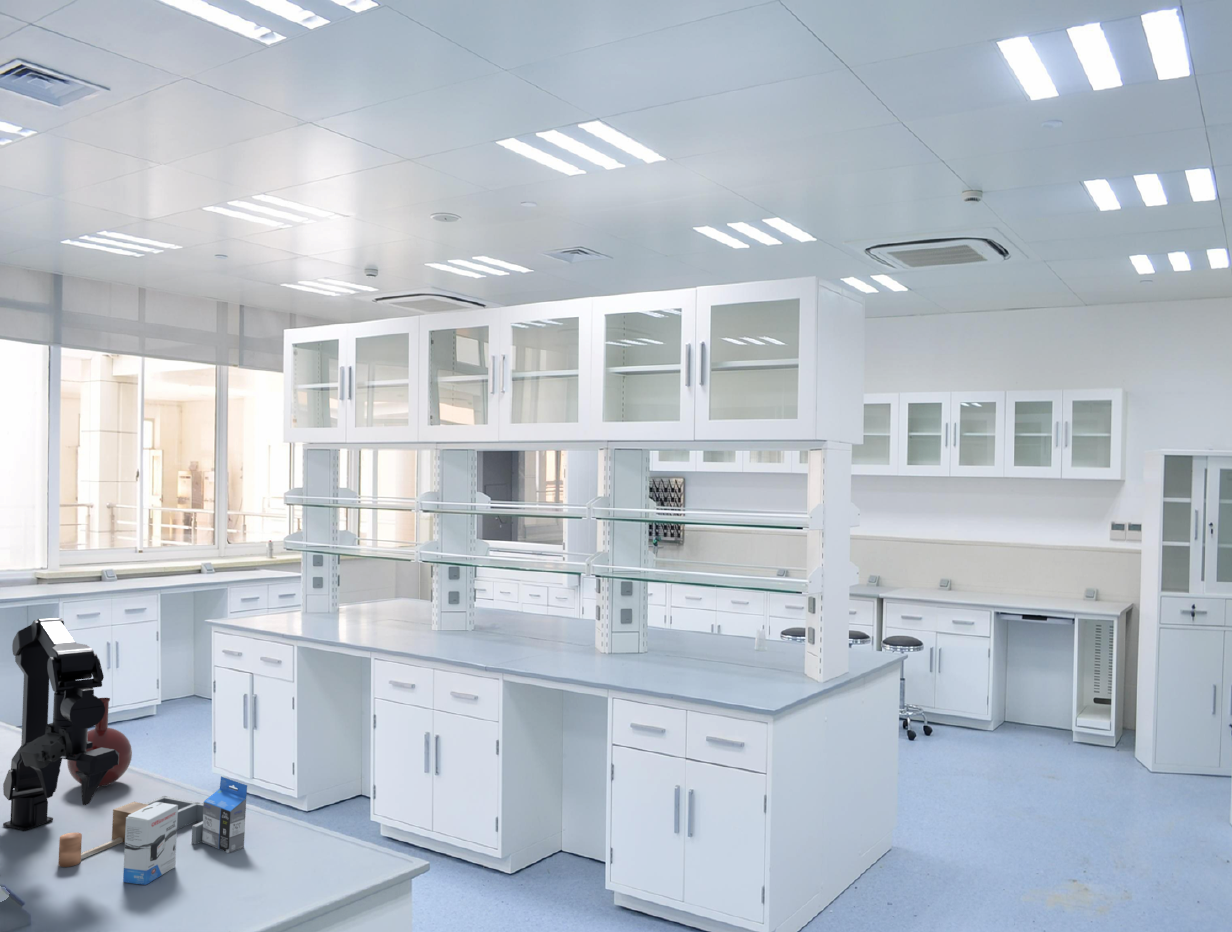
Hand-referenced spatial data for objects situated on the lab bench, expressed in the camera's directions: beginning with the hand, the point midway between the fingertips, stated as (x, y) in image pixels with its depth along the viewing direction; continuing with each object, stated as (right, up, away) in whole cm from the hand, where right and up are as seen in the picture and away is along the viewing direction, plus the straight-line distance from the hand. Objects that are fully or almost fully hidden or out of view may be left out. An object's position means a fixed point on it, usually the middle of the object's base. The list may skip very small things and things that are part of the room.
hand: (67, 800), depth 174 cm
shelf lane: (+11, -13, +20) cm, 26 cm away
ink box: (+17, -13, -3) cm, 21 cm away
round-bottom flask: (-18, -12, +43) cm, 48 cm away
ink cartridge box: (+24, -13, +12) cm, 30 cm away
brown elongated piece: (+3, -12, +8) cm, 15 cm away
